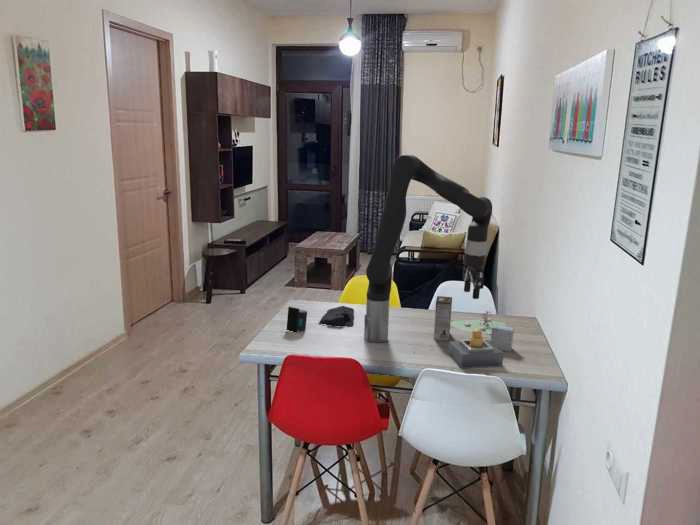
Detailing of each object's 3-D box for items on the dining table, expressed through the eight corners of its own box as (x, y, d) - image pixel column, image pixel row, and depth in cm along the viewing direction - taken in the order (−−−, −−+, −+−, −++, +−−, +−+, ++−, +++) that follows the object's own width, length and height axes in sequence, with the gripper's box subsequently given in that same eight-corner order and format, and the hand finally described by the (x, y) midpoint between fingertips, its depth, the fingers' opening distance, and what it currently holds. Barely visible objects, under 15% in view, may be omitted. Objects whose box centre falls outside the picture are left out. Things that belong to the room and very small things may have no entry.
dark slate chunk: (358, 313, 262) (359, 303, 260) (351, 329, 240) (352, 318, 239) (326, 311, 264) (326, 301, 263) (317, 326, 242) (317, 316, 241)
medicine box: (512, 348, 222) (514, 327, 220) (510, 352, 218) (512, 331, 216) (492, 344, 225) (493, 324, 223) (489, 348, 221) (491, 327, 219)
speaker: (293, 334, 230) (295, 309, 229) (286, 330, 235) (287, 306, 233) (308, 332, 235) (310, 308, 234) (300, 329, 240) (302, 305, 238)
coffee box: (434, 331, 238) (436, 295, 235) (449, 333, 237) (452, 296, 234) (433, 339, 230) (435, 301, 226) (449, 340, 228) (451, 303, 225)
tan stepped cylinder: (472, 349, 206) (473, 333, 204) (467, 344, 211) (468, 328, 209) (484, 349, 207) (486, 332, 205) (479, 344, 211) (480, 328, 210)
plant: (451, 334, 238) (452, 313, 236) (446, 318, 258) (447, 299, 256) (510, 337, 236) (512, 316, 234) (501, 321, 256) (503, 302, 254)
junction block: (461, 367, 202) (462, 351, 201) (448, 353, 214) (449, 338, 213) (502, 365, 205) (503, 349, 204) (487, 352, 217) (488, 336, 216)
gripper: (458, 248, 209) (454, 289, 213) (473, 256, 195) (468, 301, 199) (477, 248, 210) (473, 289, 214) (493, 257, 197) (488, 301, 200)
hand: (471, 295), depth 206 cm, fingers open, 8 cm apart
